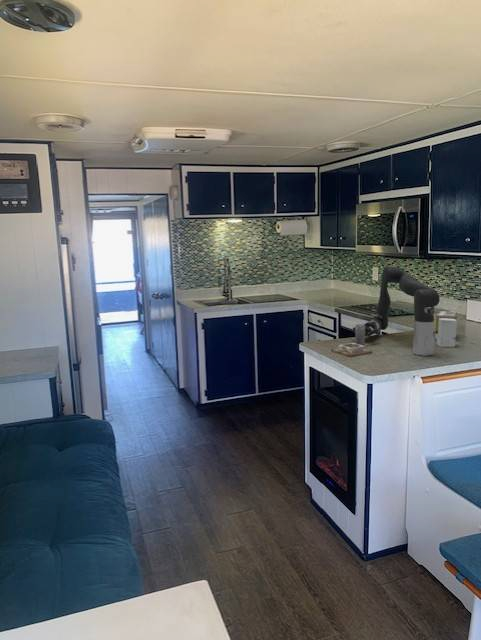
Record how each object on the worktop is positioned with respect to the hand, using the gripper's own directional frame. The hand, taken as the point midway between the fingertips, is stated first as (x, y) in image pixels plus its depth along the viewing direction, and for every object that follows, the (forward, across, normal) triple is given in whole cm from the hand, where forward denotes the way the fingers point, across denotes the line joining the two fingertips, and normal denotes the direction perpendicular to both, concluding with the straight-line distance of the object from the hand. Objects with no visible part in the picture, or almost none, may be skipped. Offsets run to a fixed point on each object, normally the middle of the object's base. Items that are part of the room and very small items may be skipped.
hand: (362, 332), depth 264 cm
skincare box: (-19, +41, +7) cm, 45 cm away
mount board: (+18, 0, +7) cm, 19 cm away
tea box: (-40, +37, +7) cm, 55 cm away
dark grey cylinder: (+4, 0, +7) cm, 8 cm away
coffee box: (-47, +24, +7) cm, 53 cm away
